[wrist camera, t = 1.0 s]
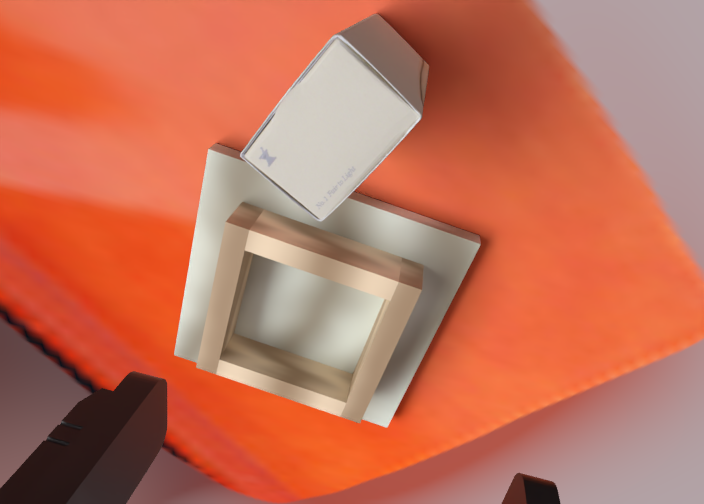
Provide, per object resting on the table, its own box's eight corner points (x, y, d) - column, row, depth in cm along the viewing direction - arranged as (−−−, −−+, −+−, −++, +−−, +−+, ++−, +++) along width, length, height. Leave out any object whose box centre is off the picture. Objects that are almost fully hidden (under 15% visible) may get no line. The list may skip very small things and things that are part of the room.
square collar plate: (180, 345, 42) (156, 381, 39) (215, 143, 33) (188, 165, 30) (388, 416, 43) (383, 458, 39) (479, 235, 34) (484, 268, 30)
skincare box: (359, 142, 32) (319, 231, 21) (304, 91, 31) (233, 159, 20) (434, 62, 29) (429, 120, 18) (375, 4, 28) (335, 30, 17)
